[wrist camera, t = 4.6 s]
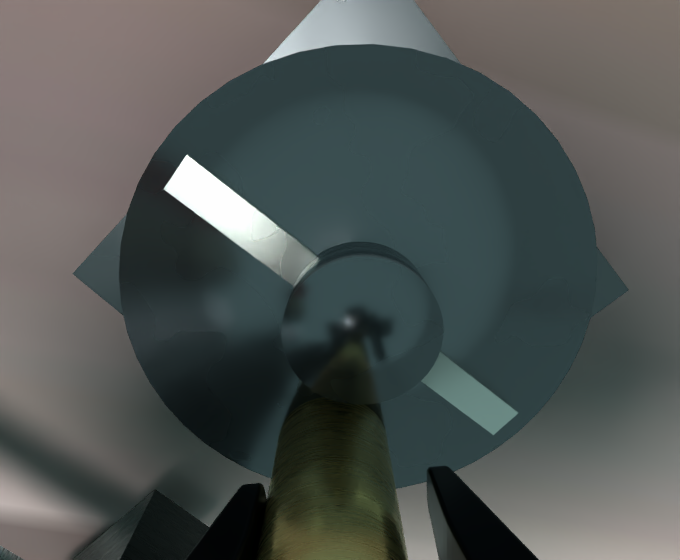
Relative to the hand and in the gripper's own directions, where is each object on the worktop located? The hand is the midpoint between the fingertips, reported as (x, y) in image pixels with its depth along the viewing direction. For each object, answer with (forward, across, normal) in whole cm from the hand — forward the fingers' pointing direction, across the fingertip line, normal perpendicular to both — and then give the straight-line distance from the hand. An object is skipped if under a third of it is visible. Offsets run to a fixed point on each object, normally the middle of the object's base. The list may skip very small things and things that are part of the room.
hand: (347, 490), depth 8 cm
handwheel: (+3, -1, -3) cm, 4 cm away
